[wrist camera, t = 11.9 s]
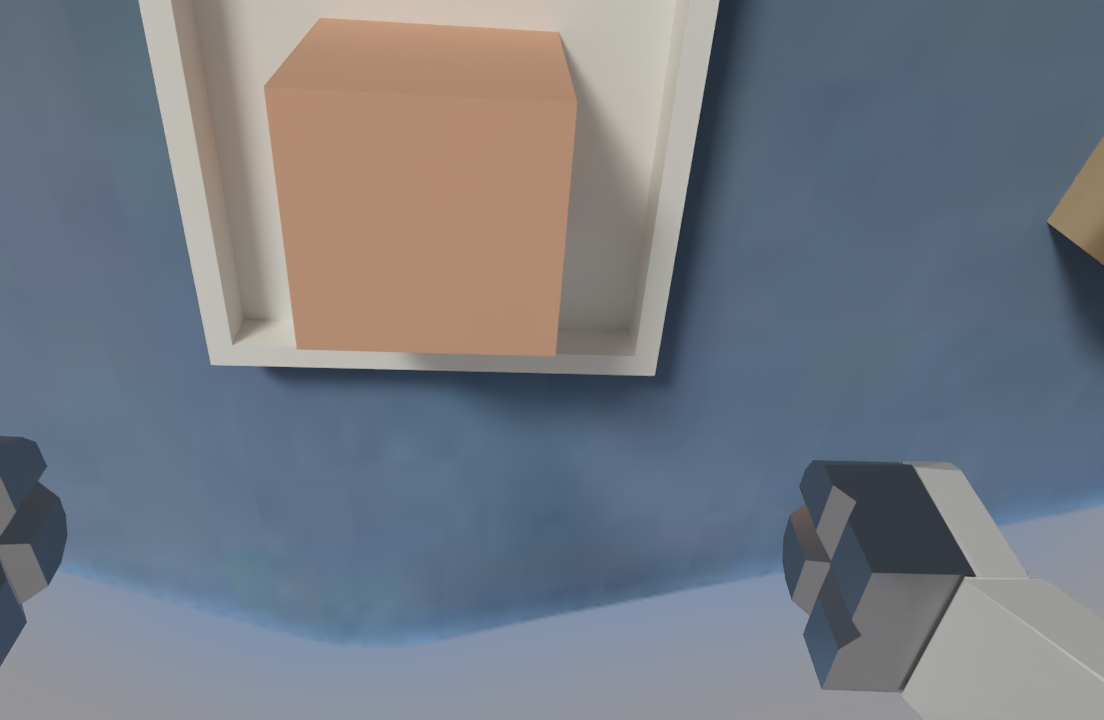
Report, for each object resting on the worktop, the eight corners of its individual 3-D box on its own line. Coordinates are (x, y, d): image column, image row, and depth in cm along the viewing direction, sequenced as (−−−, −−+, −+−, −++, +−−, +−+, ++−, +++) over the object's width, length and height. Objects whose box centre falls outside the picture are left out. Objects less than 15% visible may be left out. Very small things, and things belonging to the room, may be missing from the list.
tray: (720, -127, 16) (740, -122, 15) (645, 342, 23) (654, 375, 21) (137, -174, 15) (104, -171, 14) (228, 330, 22) (210, 365, 20)
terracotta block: (558, 31, 17) (577, 103, 13) (543, 243, 20) (555, 356, 16) (320, 17, 17) (263, 86, 13) (338, 235, 20) (296, 349, 16)
